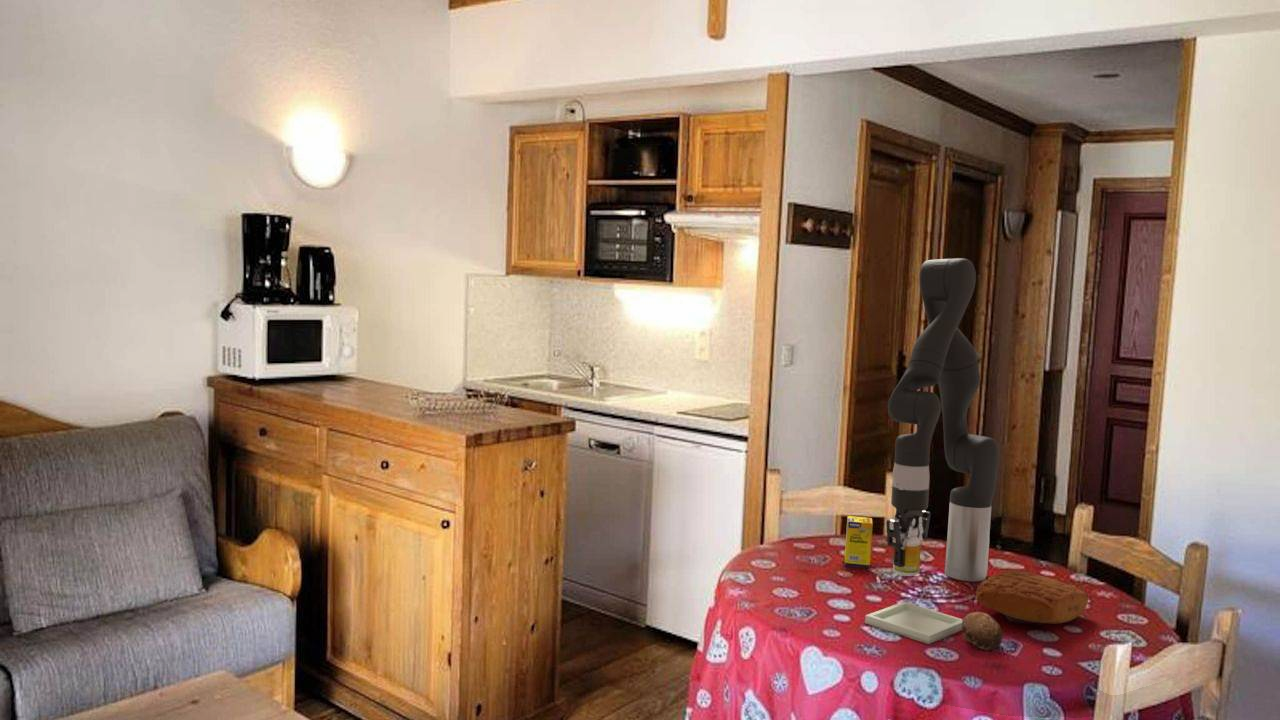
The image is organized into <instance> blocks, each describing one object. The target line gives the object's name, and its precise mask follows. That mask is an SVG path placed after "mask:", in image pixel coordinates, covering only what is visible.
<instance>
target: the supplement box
mask: <svg viewBox="0 0 1280 720" xmlns="http://www.w3.org/2000/svg"><path fill="white" fill-rule="evenodd" d="M873 526H874V522H873V518H872V517H865V516H864V517H863V516H853V515H848V516H847V517H846V533H845V534H846V535H845V550H844V566H845V567H852V568H853V567H854V568H861V569H862V568H863V569H870V568H871V567H870V566H871V552H872V539H873Z"/></svg>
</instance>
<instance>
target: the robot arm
mask: <svg viewBox="0 0 1280 720" xmlns="http://www.w3.org/2000/svg"><path fill="white" fill-rule="evenodd" d="M918 276H919V289H920V293H921V298H922V303H923V305H924V306H923V307H924V310H925V315H926V318H927V322H928V326H927V327H926V328H925V329H924V330H923V331H922V332H921V334H919V336H918V338H917V339H916V341H915V343H914V345H913V347H912V351H911V354H910V357H909V361H908V364H907V365H908V366H907V368H906V370H905V372H904V373H903V375H902V377H901V379H900V380H899V382H898V383H897V384H896V387H894V389H893V391H892V393H891V395H890V397H889V399H888V403H887V412H888V415H889V417H890V418H891V420H893V421H894V422H897V423H902V424H909V425H916V426H917V425H918V429H917V431H916V432H914V433H905V434H900V435H899V436H897V437H896V439H895V442H894V443H895V445H894V462H893V463H894V464H893V470H892V478H891V480H892V481H891V500H890V501H891V502H890V503H891V506H892V507H893V508H895V509H896V511H895V515H894V518H893V519H887V520H886V539H887V540H886V541H887V542H886V543H887V547H891V548H893V561H894V565H895V566H898V567H903V566H904V565H905V550H904V549H905V547H906V543H907V540H909V539H910V536H911V532H912V529H914V528H918V535H917V537H918V538H919V539H920V541H921V545H922V544H923V543H924V541H925V540H927V538H928V534H929V526H930V520H931V514H932V513H931V511H926V510H927V509H928V508H929V499H930V498H929V495H930V477H931V476H930V475H931V474H930V452H931V451H930V450H931V443H932V439H933V436H934V432H935V429H936V426H937V424H938V421H939V418H940V416H941V412H942V423H943V424H942V425H943V447H944V455H945V456H944V458H945V461H946V463H947V465H948V467H949V468H950V469H951V470H953V471H955V472H958V473H963V474H967V475H970V477H969V482H968V484H967V485H964V486H958V487H954V488H952V489H951V491H950V495H949V505H948V506H949V507H948V508H949V509H948V521H947V522H948V523H947V534H946V535H947V537H946V548H945V549H946V550H945V551H946V552H945V563H944V565H945V566H944V574H945V576H947V577H949V578H951V579H954V580H959V581H964V582H983V581H984V580H987V576H988V564H989V552H990V551H989V550H990V538H991V537H990V530H991V516H992V502H993V498H994V495H995V491H996V489H997V488H996V486H997V480H998V472H999V471H998V470H999V465H1000V449H999V444H998V443H997V442H996V440H995V439H994V438H992V437H988V436H984V435H979V434H973V433H970V431H969V428H968V417H967V416H968V410H969V407H970V406H971V405H970V404H971V403H972V401H973V400H974V398H975V396H976V393H977V391H978V389H979V386H980V382H981V376H980V368H979V361H978V354H977V352H976V350H975V348H974V346H973V344H971V342H970V341H969V339H968V338H967V337H966V336H965V334H964V333H963V332H962V331H961V330H960V328H959V325H960V323H961V321H962V319H963V317H964V314H965V312H966V310H967V308H968V306H969V303H970V301H971V298H972V297H973V294H974V291H975V287H976V281H977V273H976V269H975V266H974V264H973V262H972V260H969V259H967V258H962V257H960V258H959V257H956V258H942V259H941V258H939V259H929V260H925V261H924V262H923V263H922V264H921V266H920V270H919V274H918ZM937 384H938V385H937ZM936 385H937V386H938V389H939V395H940V398H939V396H938V395H937V394H936V393H935V392H931V391H925V390H923V391H922V390H920V389H923V388H929V387H933V386H936ZM900 532H903V533H906V534H900ZM901 538H902V543H901Z"/></svg>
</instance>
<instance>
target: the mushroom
mask: <svg viewBox="0 0 1280 720" xmlns="http://www.w3.org/2000/svg"><path fill="white" fill-rule="evenodd" d="M962 619H963V620H962V629H963V630H962V631H963V632H962V638H963V639H964V640H965V641H967V642H969V643H970V644H973V645H974V646H975V647H977V648H979V649H980V650H981V649H982V650H984V651H990V650H994V649H996V648H997V647H999V646H1000V645H1001V644H1002V642H1003V631H1002V628H1001V626H1000V624H999V623H998V622H997V620H996V619H995V618H993V616H991V615H989V614H988V613H986V612H980V611H975V612H970V613H968V614H966V615H965V616H964V617H963V618H962Z"/></svg>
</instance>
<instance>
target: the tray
mask: <svg viewBox="0 0 1280 720" xmlns="http://www.w3.org/2000/svg"><path fill="white" fill-rule="evenodd" d="M963 619H964V618H960V617H956V616H953V615H951V614H946V613H943V612H941V611H937V610H934V609H930V608H926V607H923V606H920V605H916V604H913V603H910V602H907V601H902V602H899V603H896V604H893V605H891V606H888V607H885V608H883V609H879V610H877V611H874V612H871V613H869V614H865V619H864V622H865V624H867V625H870V626H872V627H875V628H878V627H879V629H881V630H885V631H888V632H890V633H893V634H895V635H899V636H901V637H902V636H903V637H905V638H908V639H911V640H914V641H917V642H921V643H924V644H927V645H931V644H932V643H935V642H937V641H940V640H942V639H945V638H947V637H950V636H952V635H954V634H957V633H959V632H961V631H963V629H962V620H963Z"/></svg>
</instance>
